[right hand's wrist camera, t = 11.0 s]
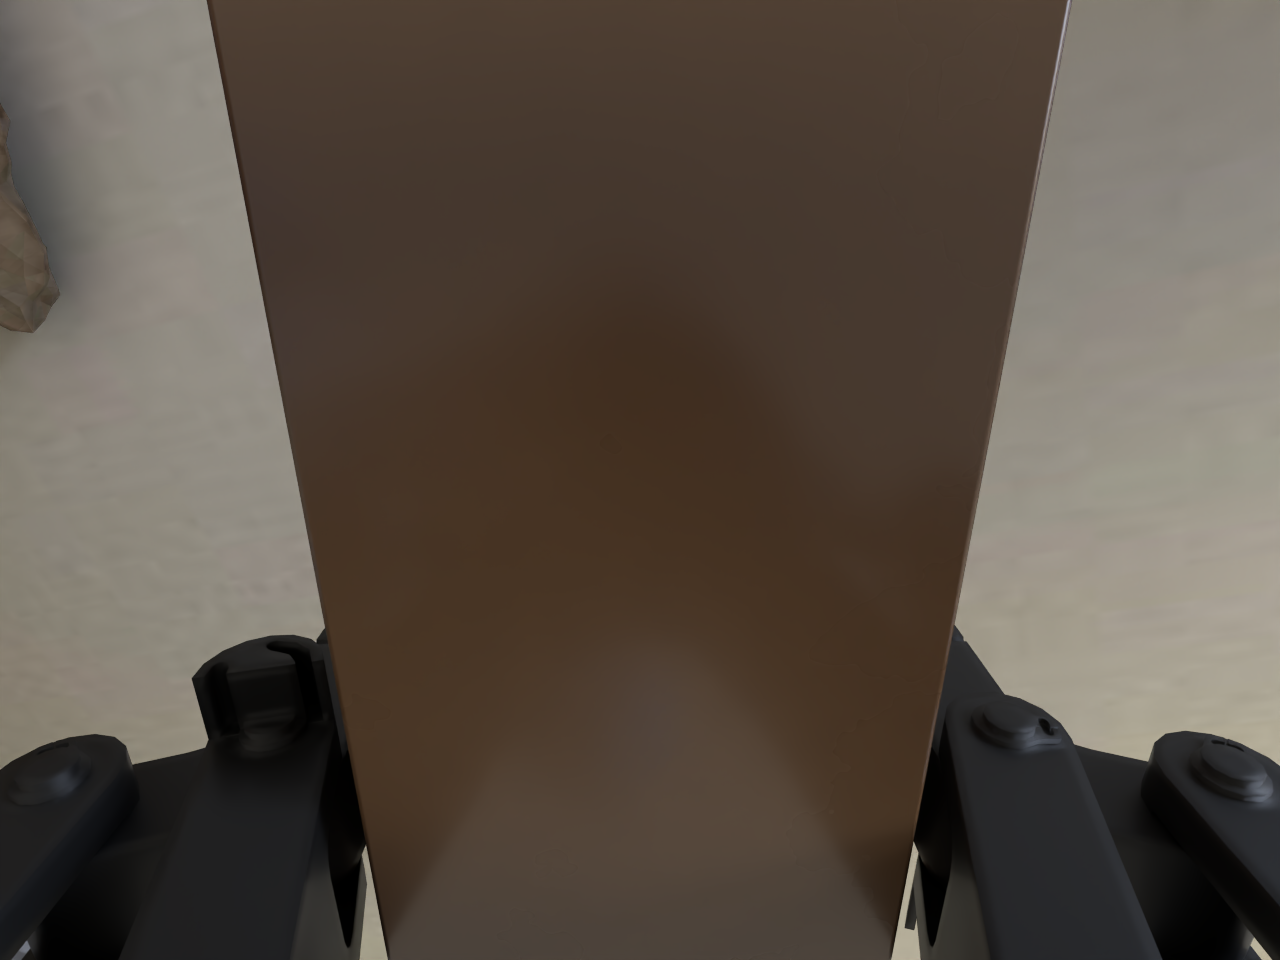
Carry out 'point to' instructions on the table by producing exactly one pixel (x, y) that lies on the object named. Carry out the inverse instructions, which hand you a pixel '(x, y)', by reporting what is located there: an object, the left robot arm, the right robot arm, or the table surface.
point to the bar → (639, 437)
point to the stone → (20, 255)
